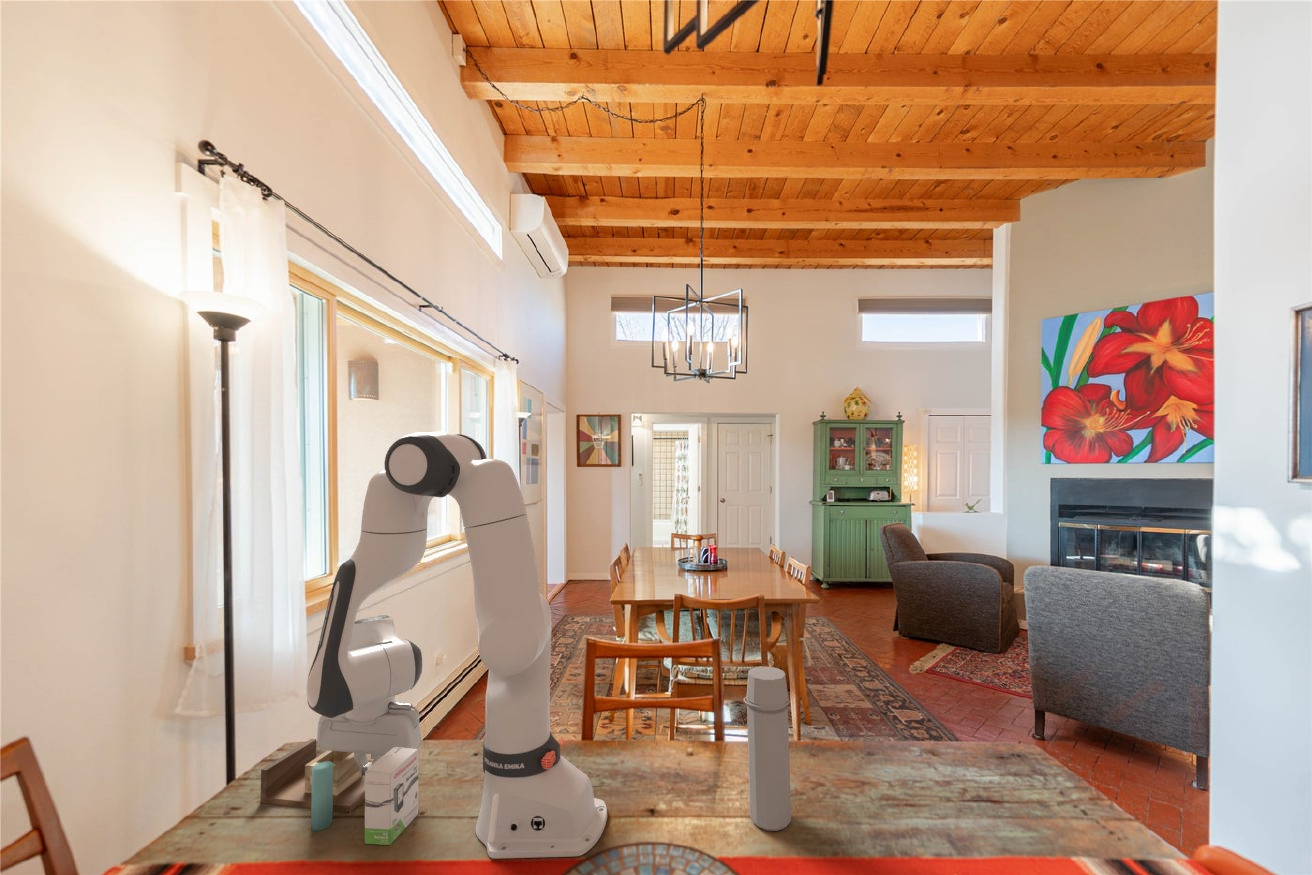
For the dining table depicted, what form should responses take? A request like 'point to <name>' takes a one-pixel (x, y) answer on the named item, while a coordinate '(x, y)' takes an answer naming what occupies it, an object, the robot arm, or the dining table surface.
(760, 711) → the water bottle
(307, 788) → the wooden square socket
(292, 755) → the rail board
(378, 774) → the ink box
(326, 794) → the dowel
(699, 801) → the dining table surface
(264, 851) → the dining table surface
